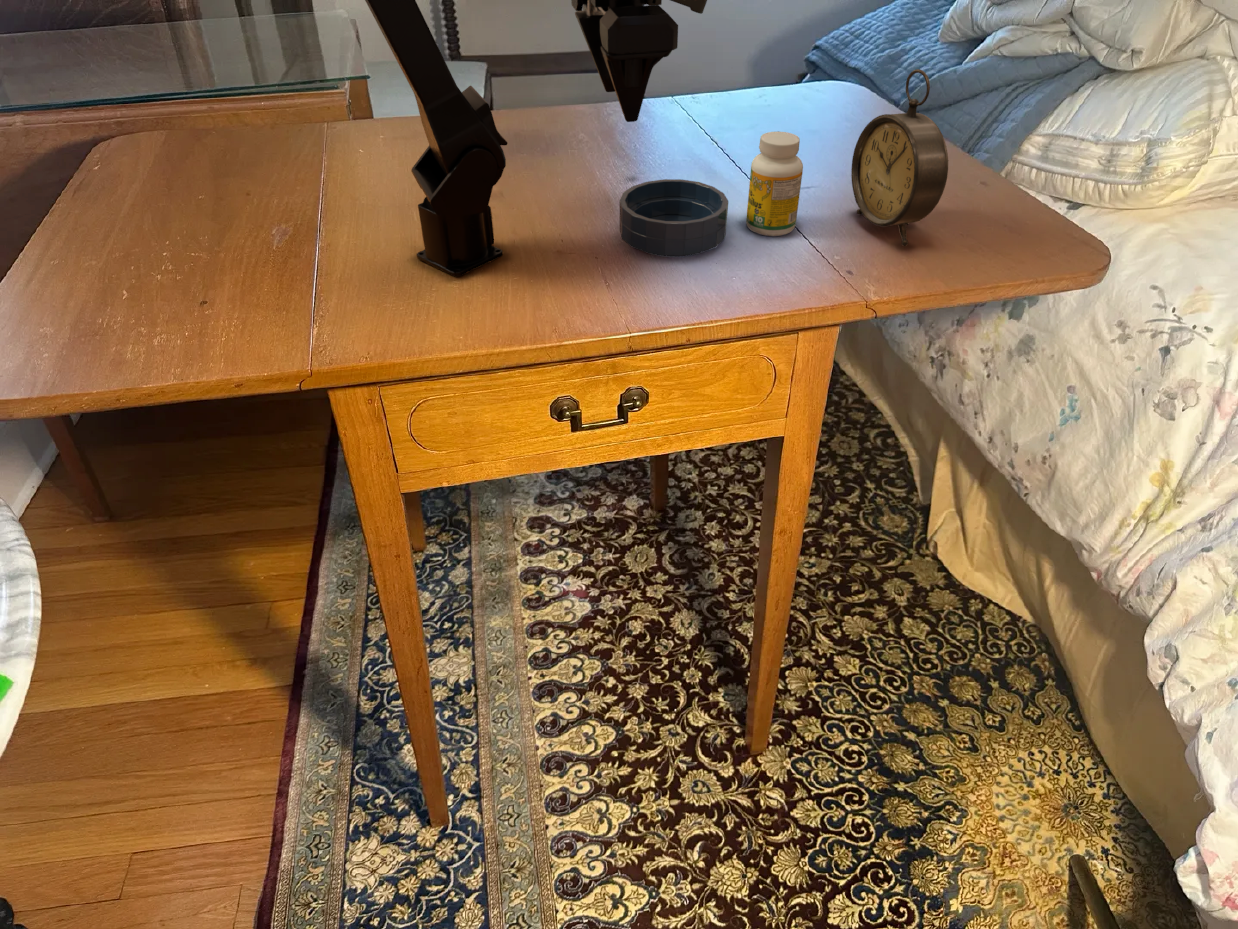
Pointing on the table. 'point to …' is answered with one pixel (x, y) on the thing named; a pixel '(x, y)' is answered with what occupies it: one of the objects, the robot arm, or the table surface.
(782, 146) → the supplement bottle
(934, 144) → the alarm clock
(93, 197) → the table surface
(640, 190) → the dark gray round dish
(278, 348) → the table surface
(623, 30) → the robot arm
